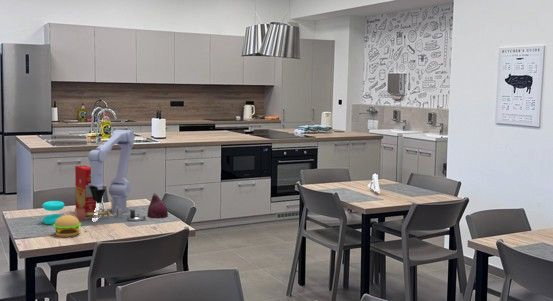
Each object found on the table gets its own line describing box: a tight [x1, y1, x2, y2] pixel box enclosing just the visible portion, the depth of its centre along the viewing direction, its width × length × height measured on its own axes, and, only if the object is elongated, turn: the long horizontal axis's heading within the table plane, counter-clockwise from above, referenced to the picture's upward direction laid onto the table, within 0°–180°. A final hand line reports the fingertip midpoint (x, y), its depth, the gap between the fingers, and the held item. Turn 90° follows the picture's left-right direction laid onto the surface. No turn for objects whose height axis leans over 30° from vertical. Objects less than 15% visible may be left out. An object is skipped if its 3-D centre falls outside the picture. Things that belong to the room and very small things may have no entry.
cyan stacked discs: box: [41, 200, 65, 226], centre depth 286 cm, size 10×10×10 cm
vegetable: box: [146, 192, 169, 219], centre depth 301 cm, size 10×10×15 cm
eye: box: [114, 205, 123, 219], centre depth 298 cm, size 6×3×6 cm, turn 29°
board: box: [79, 213, 148, 227], centre depth 292 cm, size 17×32×1 cm, turn 119°
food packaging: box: [74, 165, 97, 218], centre depth 302 cm, size 15×5×25 cm, turn 37°
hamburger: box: [52, 214, 81, 238], centre depth 265 cm, size 12×12×9 cm
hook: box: [74, 207, 111, 221], centre depth 291 cm, size 4×16×6 cm, turn 119°
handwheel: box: [127, 209, 146, 222], centre depth 294 cm, size 9×9×5 cm
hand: (97, 201), depth 291 cm, fingers open, 7 cm apart
